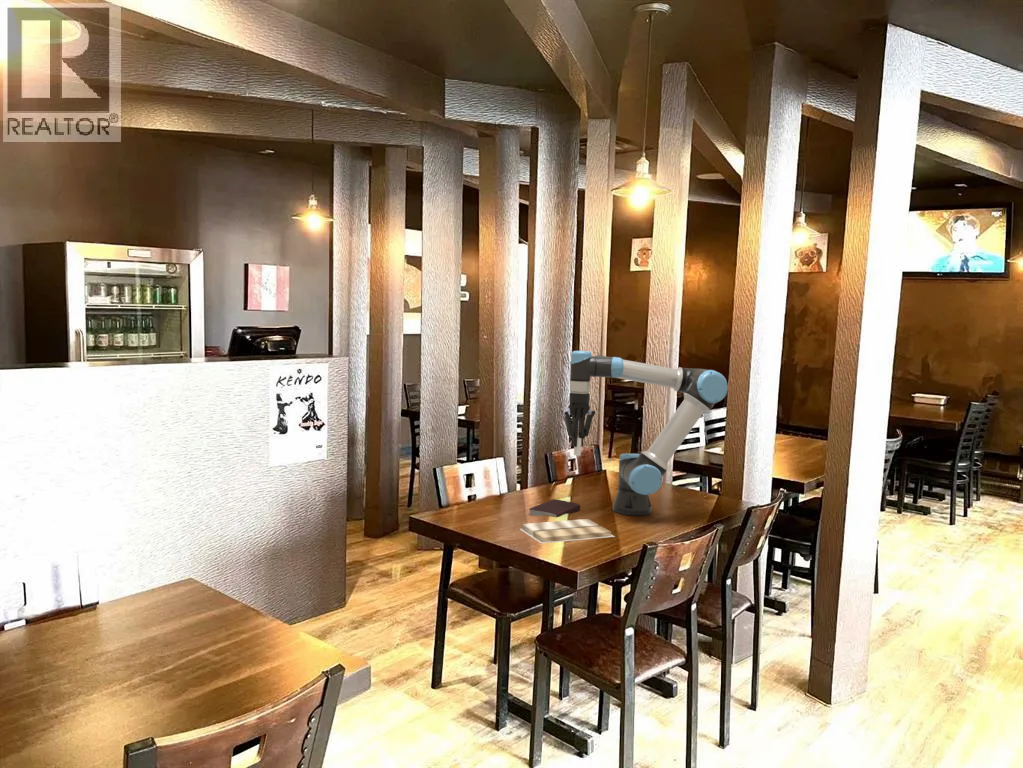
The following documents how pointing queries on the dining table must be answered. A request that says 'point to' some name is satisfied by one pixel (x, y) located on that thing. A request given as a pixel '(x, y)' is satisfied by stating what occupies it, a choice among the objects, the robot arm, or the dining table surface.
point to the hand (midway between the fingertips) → (577, 455)
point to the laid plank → (571, 534)
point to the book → (554, 508)
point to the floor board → (562, 540)
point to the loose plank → (558, 525)
